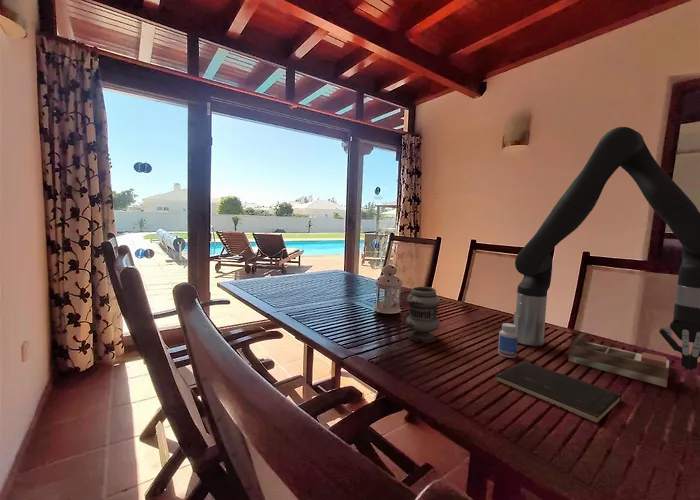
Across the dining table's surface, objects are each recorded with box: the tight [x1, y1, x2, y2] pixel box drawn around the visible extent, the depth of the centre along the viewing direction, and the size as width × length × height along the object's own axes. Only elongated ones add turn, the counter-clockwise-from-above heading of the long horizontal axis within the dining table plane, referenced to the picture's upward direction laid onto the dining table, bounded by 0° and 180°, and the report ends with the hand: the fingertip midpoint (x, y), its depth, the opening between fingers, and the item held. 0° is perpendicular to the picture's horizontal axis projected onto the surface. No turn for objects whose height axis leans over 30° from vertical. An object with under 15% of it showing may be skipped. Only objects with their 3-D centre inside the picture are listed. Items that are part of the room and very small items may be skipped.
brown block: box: [641, 351, 668, 367], centre depth 92 cm, size 5×5×4 cm
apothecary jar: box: [405, 286, 441, 343], centre depth 120 cm, size 12×12×18 cm
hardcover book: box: [494, 360, 623, 424], centre depth 84 cm, size 16×23×2 cm
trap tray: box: [567, 331, 670, 388], centre depth 101 cm, size 22×18×5 cm
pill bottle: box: [497, 322, 519, 359], centre depth 106 cm, size 6×5×10 cm
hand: (688, 368), depth 87 cm, fingers closed
